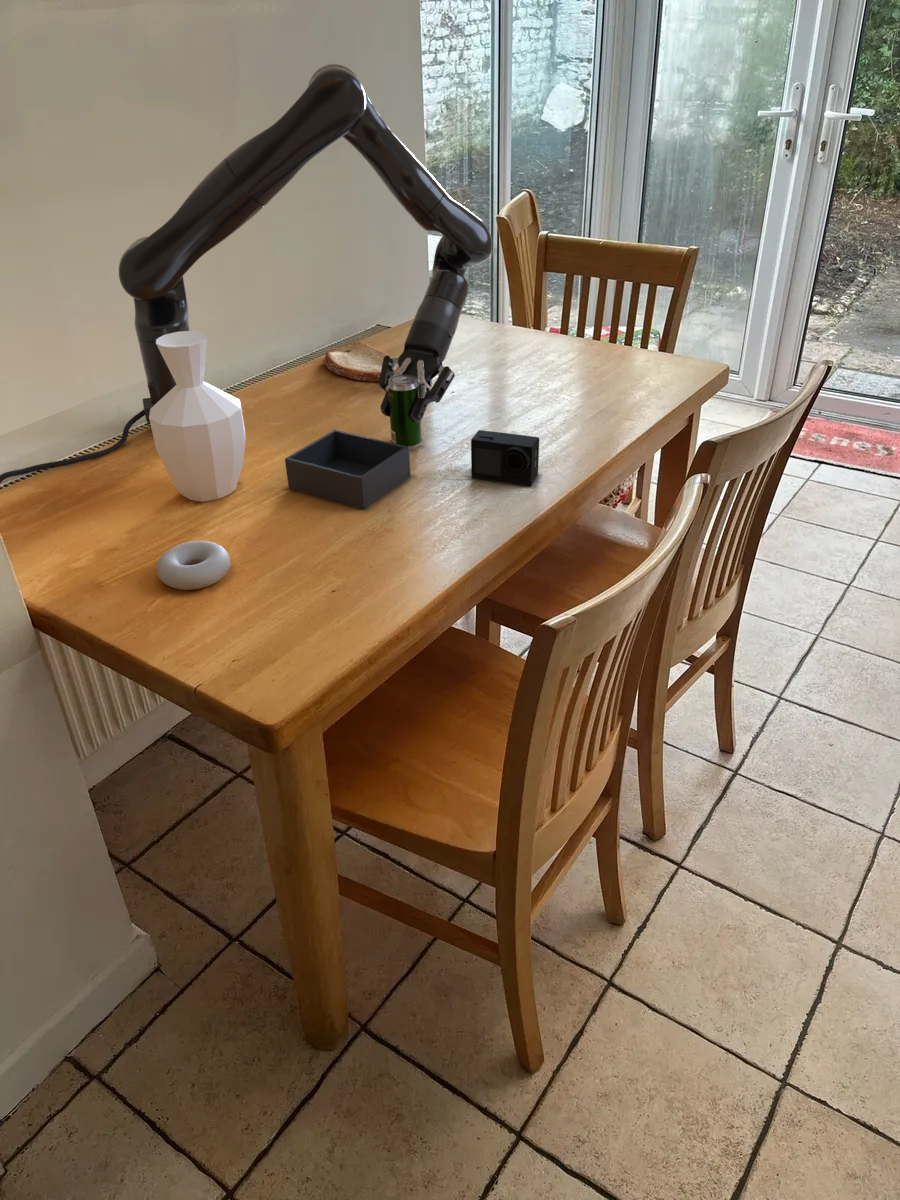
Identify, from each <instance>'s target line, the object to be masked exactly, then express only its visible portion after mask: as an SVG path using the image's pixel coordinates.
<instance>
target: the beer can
mask: <svg viewBox="0 0 900 1200" xmlns="http://www.w3.org/2000/svg"><path fill="white" fill-rule="evenodd" d="M388 397H389V411H390V416H389V424H390V425H389V427H390V438H391V443H394V444H399V445H403V446H407V447H409V451H410V450H415V449H417V448H419V447H420V445H421V443H422V440H423V439H422V422H421V421H422V419H421V420H419V422H418V423H415V422H413V421H412V420H411V419H410V414H411V412H412V409H413V407H414V404H415V401H416V399H417V398H418V399H419V384H418V382H417V378H416V377H415V376H413V375H405V374H404V375H396V376H393V377H391V378H389V383H388Z"/></svg>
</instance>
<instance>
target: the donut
mask: <svg viewBox="0 0 900 1200" xmlns="http://www.w3.org/2000/svg"><path fill="white" fill-rule="evenodd" d="M230 568H231V556H230V554H229V552H228V551H227V549H225V548H224V546H222V545H220V544H218V543H216V542H214V541H208V540H193V541H186V542H183V543H179V544H176V545H174V546H172V547H170V548H168V549H167V550H166V551H164V553H162V554H161V556H160V557H159V559H158V560H157V563H156V574H157V577H158V578H159V579H160V581H161V582H162V583H163V584H165V585H167V586H168V587H169V588H172V589H176V590H181V591H182V590H183V591H186V590H187V591H193V590H199V589H200V590H201V589H203V588H207V587H210V586H212V585H214V584H216V583H218V582H220V581H221V580H222V579H223V578H224V577H225V576H226V575H227V573H228V571H229V570H230Z"/></svg>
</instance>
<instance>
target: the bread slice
mask: <svg viewBox="0 0 900 1200" xmlns="http://www.w3.org/2000/svg"><path fill="white" fill-rule="evenodd" d="M386 355H388V356H389V357H390V358H392V356H390V354H387V353H386V352H384V351H382V350H380V349H378V348H375V347H373V346H371V345H368V344H366V343H364V342H362V341H357V342H352V343H349V344H346V345H345V346H342V347H340V348H338V349H337V350H335V351H331V352H330V351H327V352H326V353H325V356H324V359H323V364H324V365H325V367H326V368H327V369H328V370H329V371H331V372H332V373H334V374H336V375H338V376H341V377H346V378H348V379H350V380H355V381H364V382H374V383H375V382H376V383H377V382H378V383H379V379H380V374H381V369H382V364H383V359H384V357H385V356H386ZM396 369H397V370H398V369H399V365H398V366H397V368H396ZM397 370H396V371H394V374H395V373H396V372H397Z"/></svg>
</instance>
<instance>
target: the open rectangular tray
mask: <svg viewBox="0 0 900 1200" xmlns="http://www.w3.org/2000/svg"><path fill="white" fill-rule="evenodd" d="M284 463H285V469H286V478H287V485H288V489H289V490H292V491H295V492H299V493H303V494H306V495H310V496H313V497H317V498H321V499H324V500H328V501H332V502H335V503H339V504H343V505H346V506H349V507H353V508H356V509H360V510H367V508H369V507H370V506H372V505H373V504H374V503H376V502H377V501H378V500H381V498H383V497H384V496H386V495H387V494H389V493H390V492H391V491H393V490H394V489H395V488H397V487H398V486H400V485H401V484H403V483H404V482H405V481H407V480H408V479H410V477H411V463H410V450H409V447H407V446H403V445H399V444H394V443H392V442H391V441H390V442H389V441H385V440H381V439H376V438H372V437H368V436H364V435H360V434H355V433H351V432H347V431H342V430H339V429H333V430H331V431H330V432H328V433H326V434H324V435H323V436H321V437H319V438H317V439H316V440H314V441H313V442H311V443H309V444H308V445H306V446H304V447H302V448H300V449H299V450H297V451H296V452H294V453H292V454H290V455H289V456H287V457H285V458H284Z"/></svg>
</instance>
